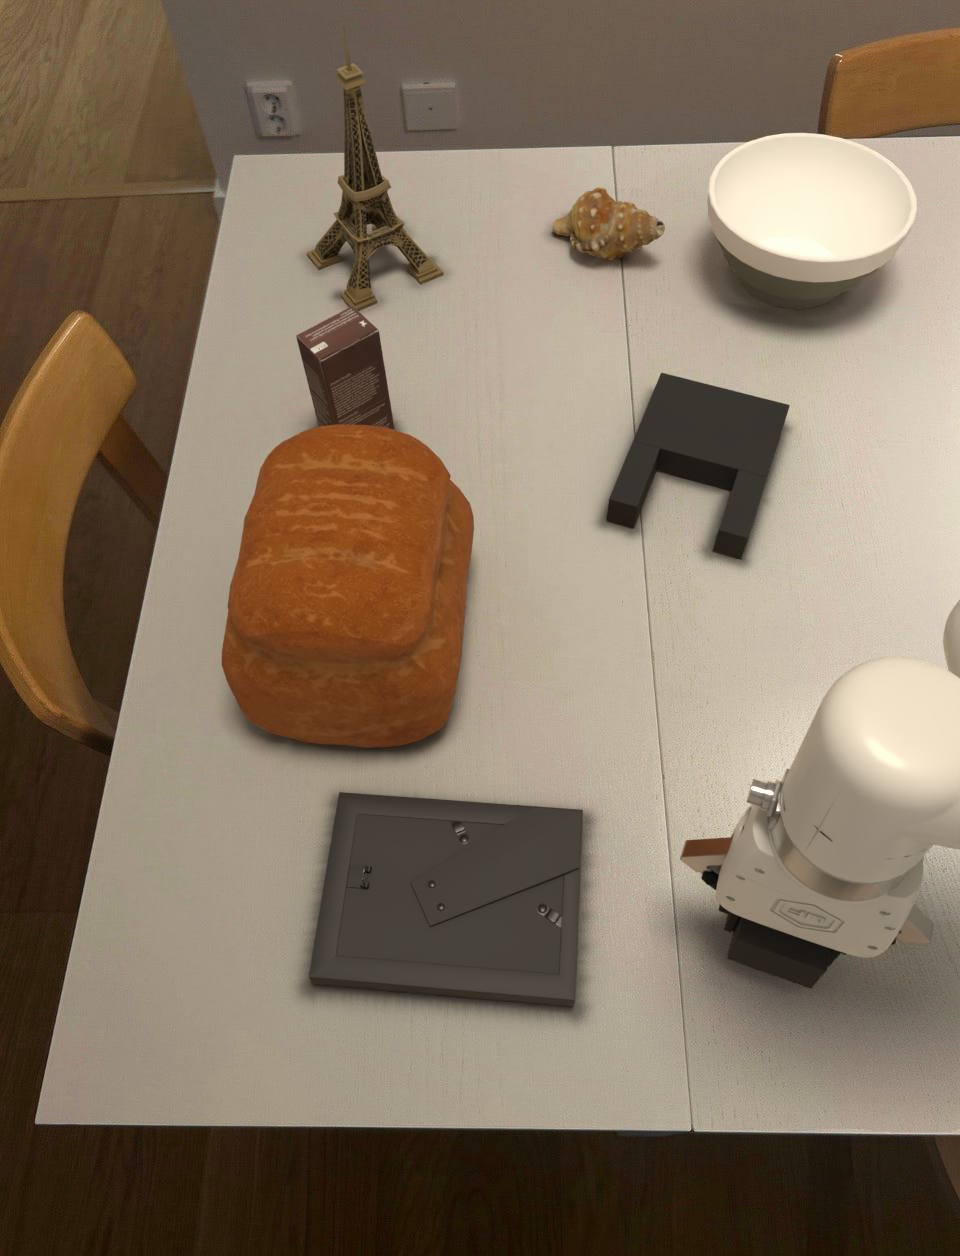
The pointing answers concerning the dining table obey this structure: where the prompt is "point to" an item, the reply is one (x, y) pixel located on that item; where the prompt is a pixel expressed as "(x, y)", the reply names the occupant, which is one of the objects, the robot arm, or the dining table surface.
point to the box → (346, 371)
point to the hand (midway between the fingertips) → (780, 926)
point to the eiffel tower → (364, 203)
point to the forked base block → (702, 451)
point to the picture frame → (451, 899)
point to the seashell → (607, 226)
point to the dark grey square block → (778, 953)
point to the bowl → (807, 215)
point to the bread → (350, 590)
